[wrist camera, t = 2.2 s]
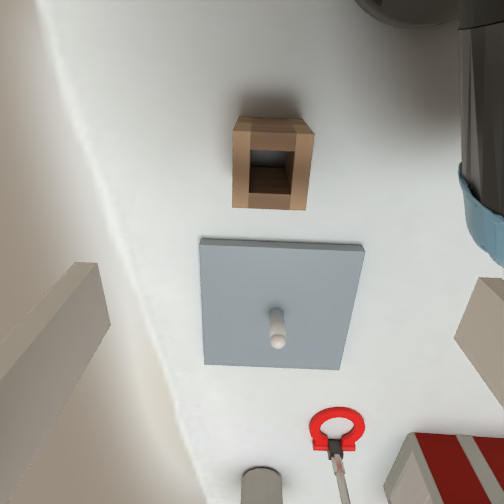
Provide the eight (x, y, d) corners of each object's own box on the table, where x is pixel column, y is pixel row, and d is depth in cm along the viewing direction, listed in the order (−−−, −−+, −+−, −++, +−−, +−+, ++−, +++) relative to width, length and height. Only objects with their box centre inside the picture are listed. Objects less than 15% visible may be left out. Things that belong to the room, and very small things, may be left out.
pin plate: (201, 238, 38) (190, 271, 32) (361, 245, 38) (380, 279, 32) (205, 356, 47) (197, 399, 41) (337, 361, 47) (348, 405, 41)
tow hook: (311, 403, 52) (306, 443, 56) (327, 495, 40) (319, 537, 44) (367, 404, 52) (358, 444, 56) (398, 496, 40) (384, 538, 44)
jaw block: (238, 116, 32) (232, 130, 25) (302, 119, 32) (314, 134, 25) (237, 179, 35) (232, 207, 28) (296, 181, 35) (305, 210, 28)
